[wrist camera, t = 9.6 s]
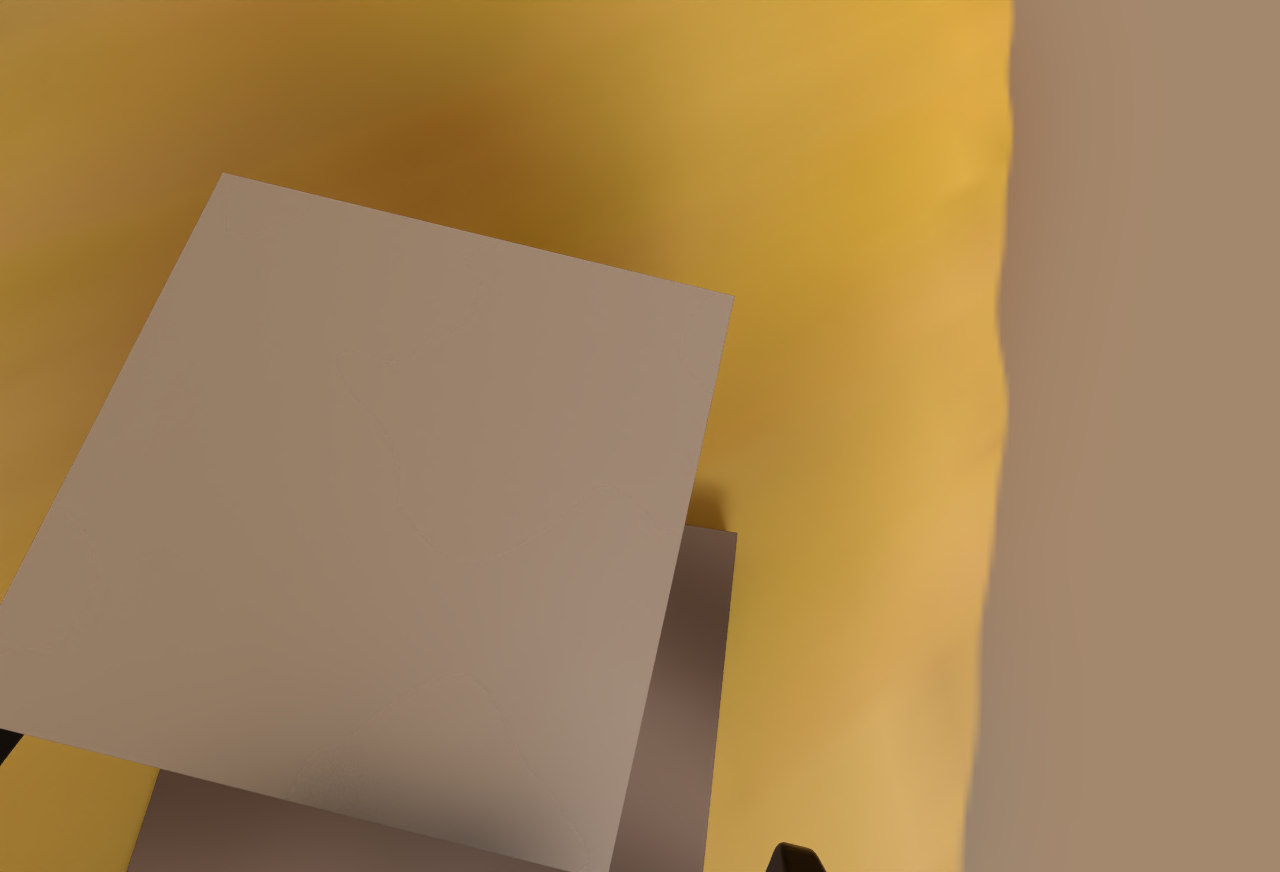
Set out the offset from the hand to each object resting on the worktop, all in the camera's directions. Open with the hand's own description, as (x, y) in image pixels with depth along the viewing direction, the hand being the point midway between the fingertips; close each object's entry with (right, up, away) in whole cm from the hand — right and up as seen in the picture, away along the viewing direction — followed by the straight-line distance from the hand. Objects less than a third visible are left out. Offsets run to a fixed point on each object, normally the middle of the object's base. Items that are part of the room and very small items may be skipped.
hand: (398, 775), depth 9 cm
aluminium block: (0, -1, +10) cm, 10 cm away
